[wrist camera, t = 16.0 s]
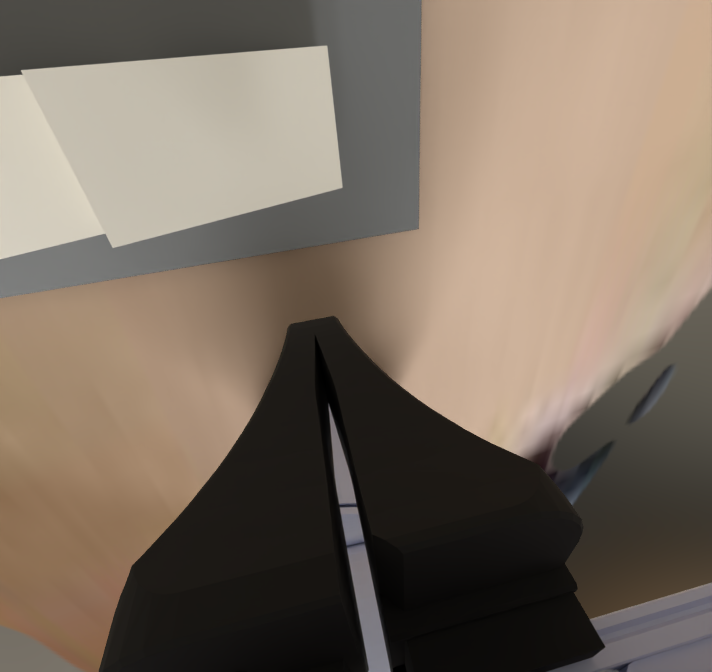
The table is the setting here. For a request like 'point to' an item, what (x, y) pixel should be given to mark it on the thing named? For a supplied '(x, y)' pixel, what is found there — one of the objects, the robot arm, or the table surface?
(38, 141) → the domino
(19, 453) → the table surface
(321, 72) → the domino
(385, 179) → the domino mat
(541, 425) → the table surface
